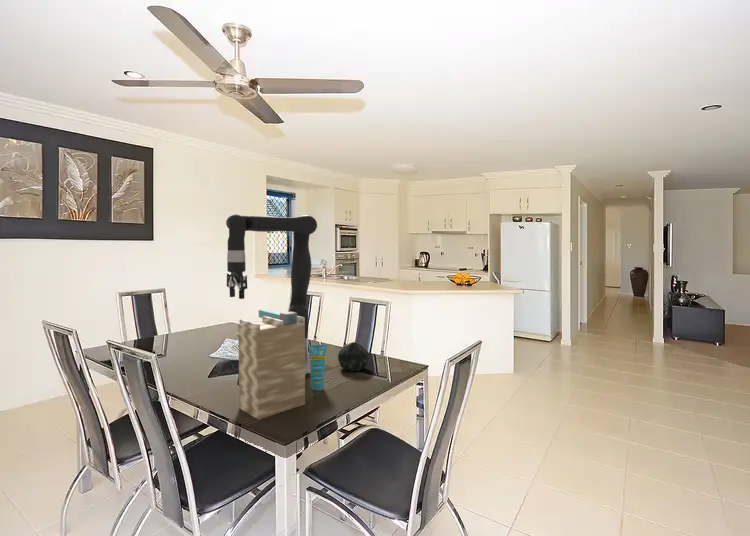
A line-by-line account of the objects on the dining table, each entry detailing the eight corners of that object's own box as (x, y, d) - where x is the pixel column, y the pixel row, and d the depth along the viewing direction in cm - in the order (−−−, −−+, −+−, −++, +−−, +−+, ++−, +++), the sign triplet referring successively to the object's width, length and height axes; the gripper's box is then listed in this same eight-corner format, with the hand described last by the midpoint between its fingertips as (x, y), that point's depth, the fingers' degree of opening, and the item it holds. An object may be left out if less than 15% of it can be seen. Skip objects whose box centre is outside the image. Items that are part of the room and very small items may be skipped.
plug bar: (257, 317, 168) (256, 307, 167) (267, 315, 171) (267, 306, 171) (285, 325, 153) (285, 314, 153) (297, 323, 157) (297, 312, 156)
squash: (352, 351, 216) (342, 334, 206) (376, 357, 208) (367, 339, 199) (339, 374, 207) (328, 357, 198) (365, 381, 200) (354, 364, 190)
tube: (309, 391, 174) (309, 346, 172) (308, 387, 178) (308, 343, 177) (327, 390, 175) (327, 345, 174) (326, 386, 180) (326, 342, 179)
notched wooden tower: (239, 408, 156) (238, 319, 153) (284, 394, 170) (284, 312, 168) (258, 419, 146) (257, 324, 144) (305, 404, 160) (304, 317, 158)
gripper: (252, 261, 177) (252, 298, 178) (236, 260, 187) (237, 295, 188) (236, 261, 172) (236, 300, 173) (220, 260, 182) (221, 297, 183)
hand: (236, 297), depth 180 cm, fingers open, 8 cm apart
